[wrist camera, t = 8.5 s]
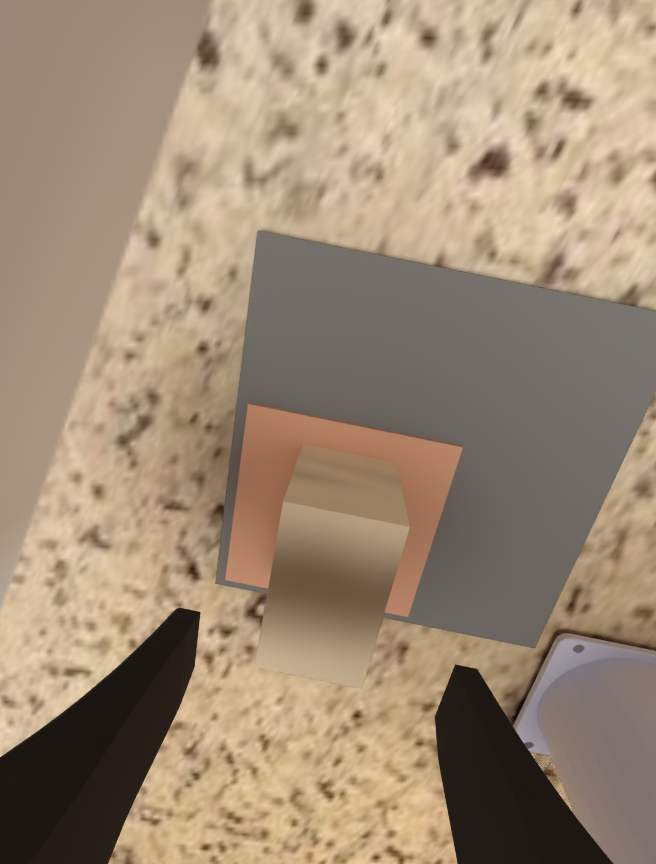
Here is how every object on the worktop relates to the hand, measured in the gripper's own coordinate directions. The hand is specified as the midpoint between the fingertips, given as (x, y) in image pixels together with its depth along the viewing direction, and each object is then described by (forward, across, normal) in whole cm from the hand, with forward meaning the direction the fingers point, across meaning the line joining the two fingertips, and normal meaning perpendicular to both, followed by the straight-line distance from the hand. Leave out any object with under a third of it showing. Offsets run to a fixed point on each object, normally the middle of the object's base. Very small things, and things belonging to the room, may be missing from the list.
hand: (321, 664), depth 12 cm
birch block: (+8, 0, 0) cm, 8 cm away
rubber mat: (+8, -3, -3) cm, 9 cm away
